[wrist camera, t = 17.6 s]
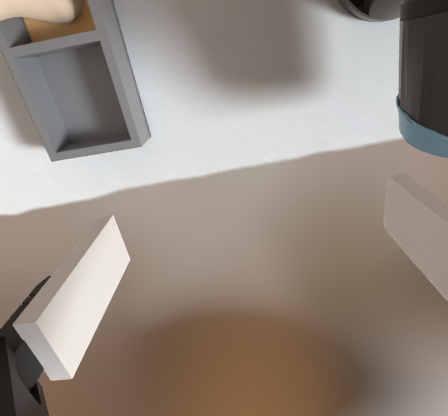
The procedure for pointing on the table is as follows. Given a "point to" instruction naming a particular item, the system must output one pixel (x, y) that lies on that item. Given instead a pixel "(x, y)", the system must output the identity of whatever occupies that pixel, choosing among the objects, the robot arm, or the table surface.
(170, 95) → the table surface
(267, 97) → the table surface
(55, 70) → the bottle caddy
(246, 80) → the table surface
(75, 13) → the water bottle
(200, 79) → the table surface
